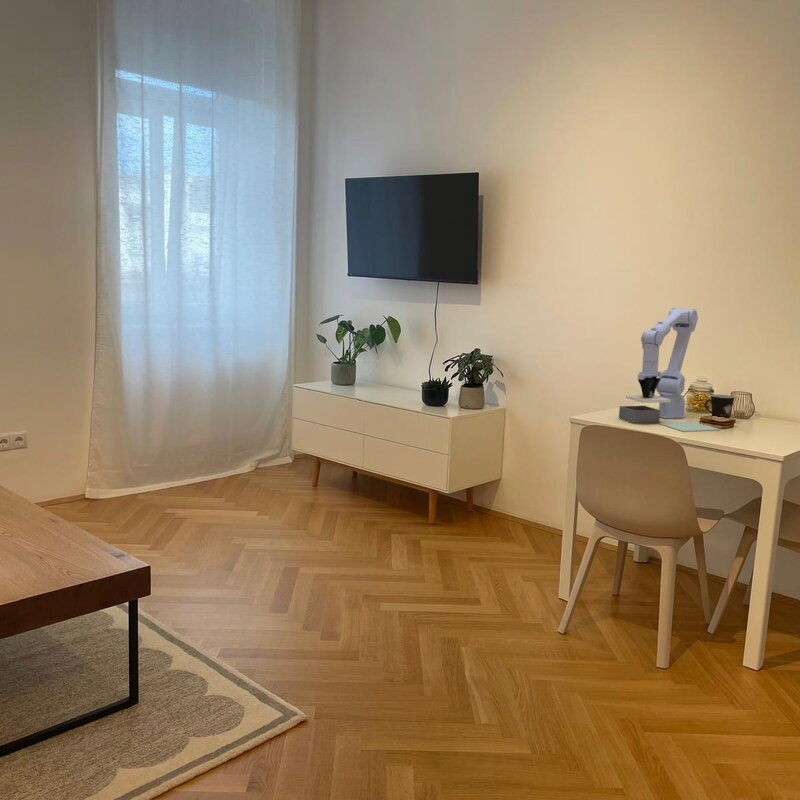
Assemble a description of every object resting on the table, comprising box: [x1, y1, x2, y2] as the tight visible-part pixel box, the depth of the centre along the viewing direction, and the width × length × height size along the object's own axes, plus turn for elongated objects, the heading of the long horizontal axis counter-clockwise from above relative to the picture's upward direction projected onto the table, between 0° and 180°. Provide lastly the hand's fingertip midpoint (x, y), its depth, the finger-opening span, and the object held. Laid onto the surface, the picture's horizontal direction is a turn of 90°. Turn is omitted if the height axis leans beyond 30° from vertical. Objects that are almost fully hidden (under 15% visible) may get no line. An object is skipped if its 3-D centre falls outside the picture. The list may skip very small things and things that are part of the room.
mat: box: [657, 421, 721, 433], centre depth 315 cm, size 16×16×1 cm
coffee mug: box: [704, 394, 735, 419], centre depth 328 cm, size 12×9×10 cm
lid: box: [625, 391, 671, 404], centre depth 323 cm, size 12×12×4 cm
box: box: [618, 405, 661, 425], centre depth 325 cm, size 11×11×5 cm
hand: (648, 396), depth 323 cm, fingers closed on lid, 3 cm apart
